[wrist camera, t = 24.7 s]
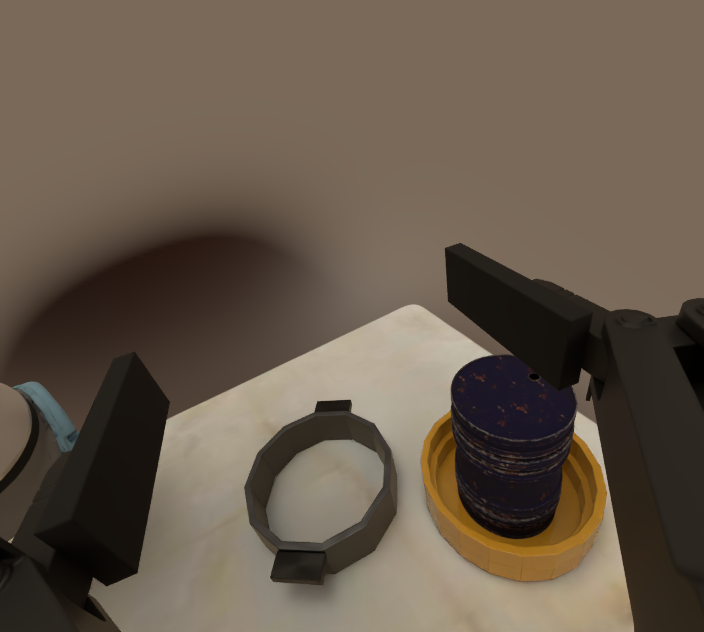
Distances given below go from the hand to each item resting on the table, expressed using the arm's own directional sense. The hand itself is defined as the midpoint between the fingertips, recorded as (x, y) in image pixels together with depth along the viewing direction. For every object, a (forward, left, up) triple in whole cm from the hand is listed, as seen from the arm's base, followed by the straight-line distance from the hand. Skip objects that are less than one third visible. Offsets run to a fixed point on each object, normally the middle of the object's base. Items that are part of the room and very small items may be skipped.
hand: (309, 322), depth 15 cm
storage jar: (+14, -4, -31) cm, 34 cm away
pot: (+4, +13, -31) cm, 34 cm away
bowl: (+14, -4, -31) cm, 35 cm away
